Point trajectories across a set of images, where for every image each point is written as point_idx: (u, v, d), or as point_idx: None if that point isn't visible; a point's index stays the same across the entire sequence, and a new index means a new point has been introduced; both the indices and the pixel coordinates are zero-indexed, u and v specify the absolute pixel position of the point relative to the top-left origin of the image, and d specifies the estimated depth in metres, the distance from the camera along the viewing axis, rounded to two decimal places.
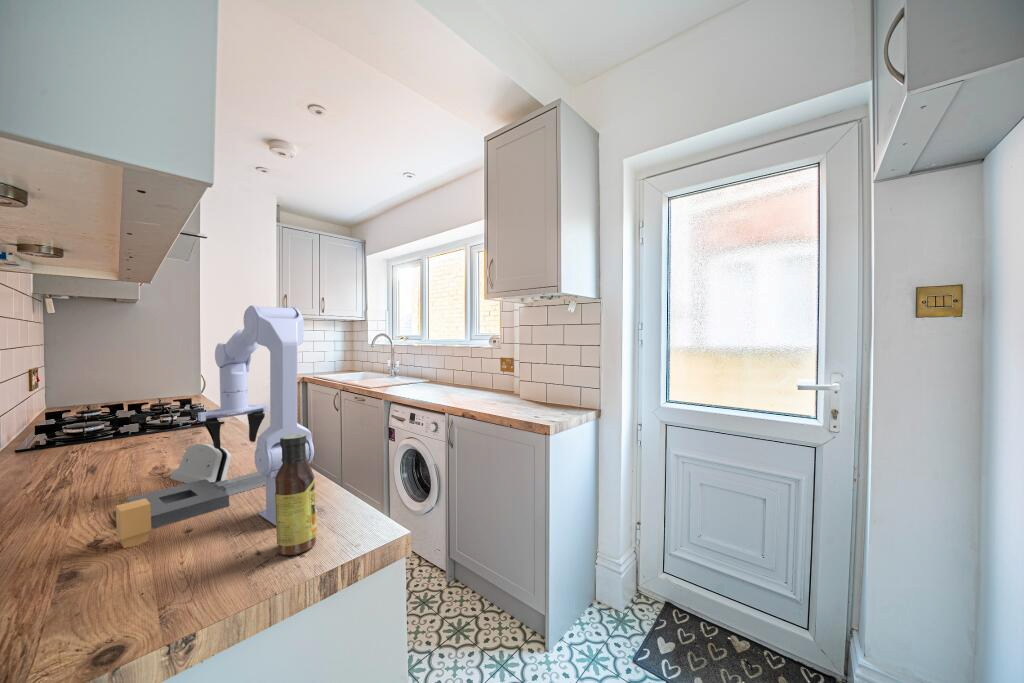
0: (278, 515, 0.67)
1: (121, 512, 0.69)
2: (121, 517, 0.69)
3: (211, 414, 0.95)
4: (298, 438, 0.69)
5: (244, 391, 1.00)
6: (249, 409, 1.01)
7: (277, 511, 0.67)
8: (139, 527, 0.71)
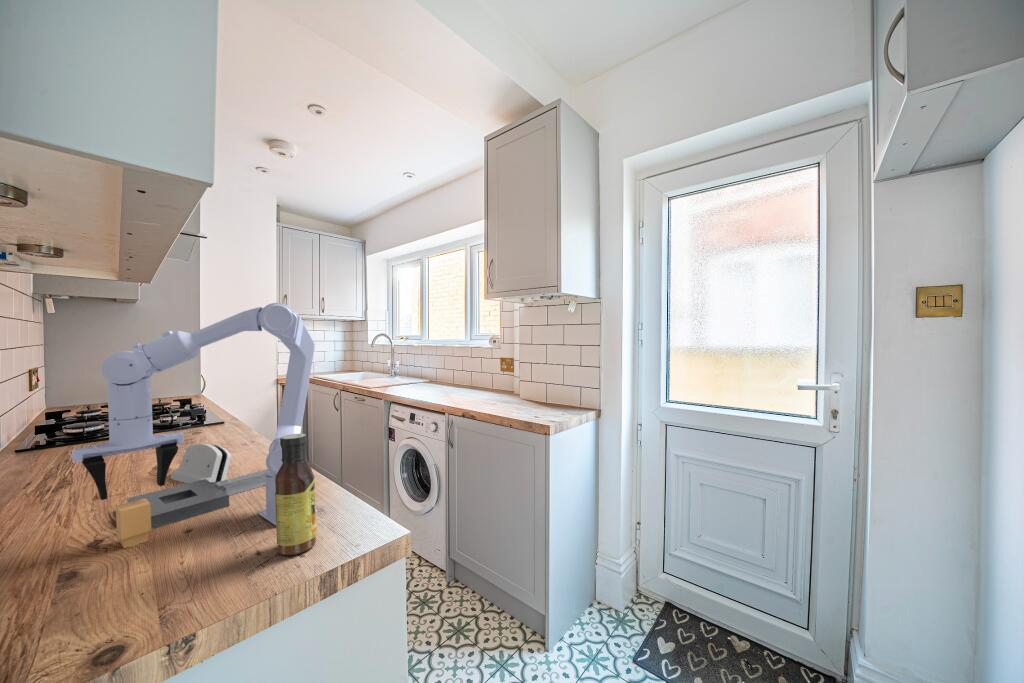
0: (278, 515, 0.67)
1: (121, 512, 0.69)
2: (121, 517, 0.69)
3: (90, 452, 0.67)
4: (298, 438, 0.69)
5: (145, 417, 0.72)
6: (153, 442, 0.73)
7: (277, 511, 0.67)
8: (139, 527, 0.71)
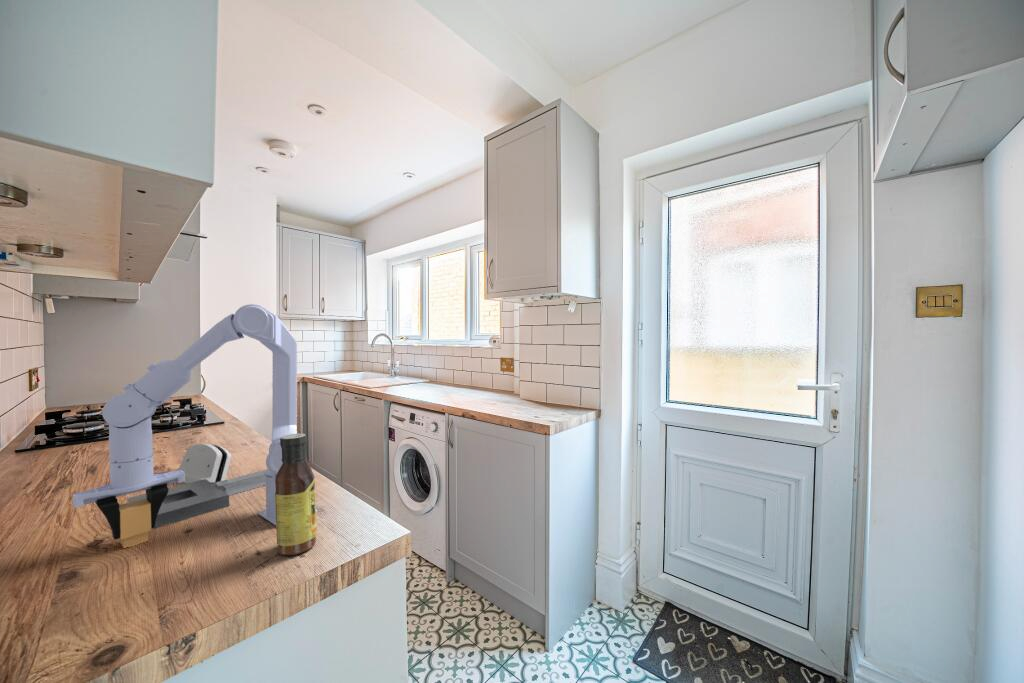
0: (278, 515, 0.67)
1: (121, 512, 0.69)
2: (121, 517, 0.69)
3: (91, 496, 0.67)
4: (298, 438, 0.69)
5: (146, 459, 0.72)
6: (154, 483, 0.73)
7: (277, 511, 0.67)
8: (139, 527, 0.71)
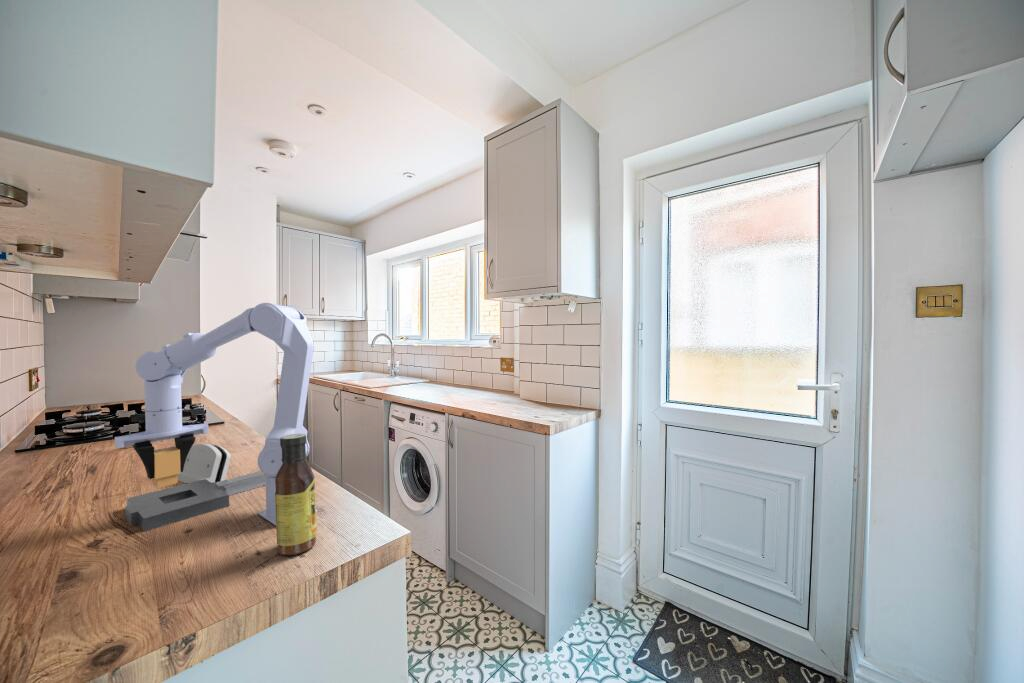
0: (278, 515, 0.67)
1: (155, 455, 0.79)
2: (155, 459, 0.79)
3: (131, 439, 0.77)
4: (298, 438, 0.69)
5: (176, 409, 0.82)
6: (183, 431, 0.83)
7: (277, 511, 0.67)
8: (170, 469, 0.81)
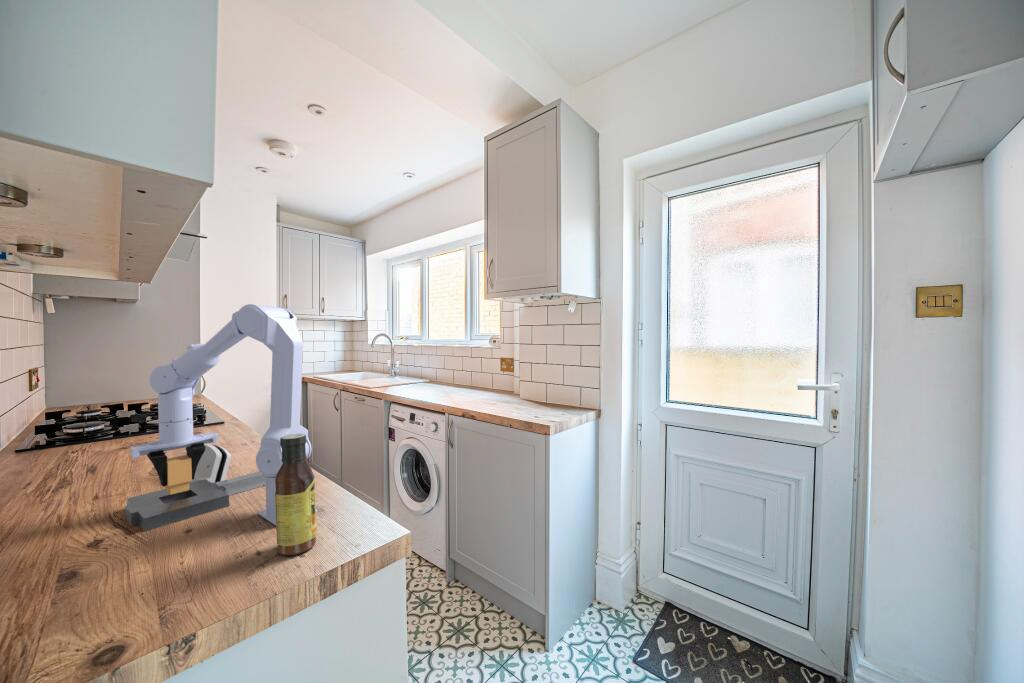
0: (278, 515, 0.67)
1: (168, 463, 0.84)
2: (168, 468, 0.84)
3: (145, 449, 0.81)
4: (298, 438, 0.69)
5: (188, 420, 0.86)
6: (194, 441, 0.87)
7: (277, 511, 0.67)
8: (182, 477, 0.86)
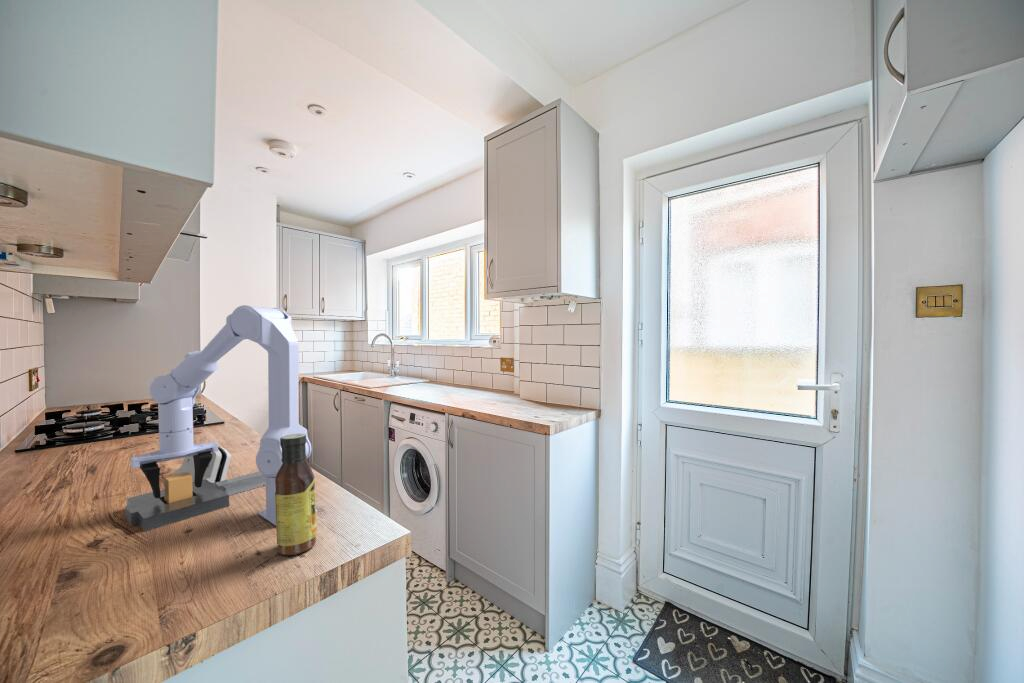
0: (278, 515, 0.67)
1: (169, 481, 0.84)
2: (169, 485, 0.84)
3: (146, 459, 0.82)
4: (298, 438, 0.69)
5: (188, 430, 0.86)
6: (194, 450, 0.87)
7: (277, 511, 0.67)
8: (183, 494, 0.86)
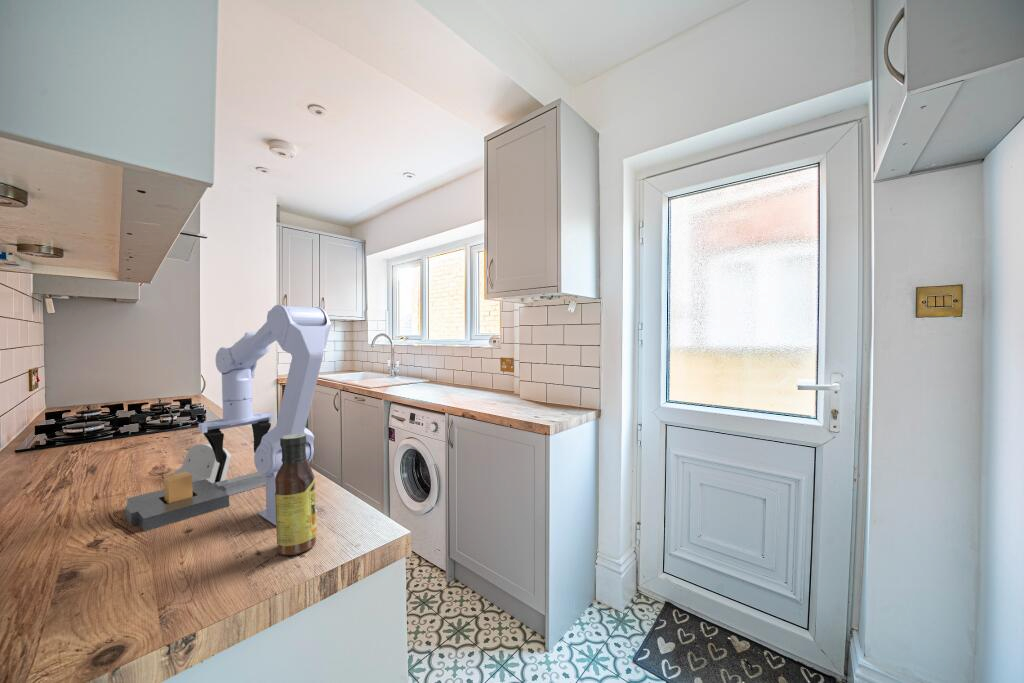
0: (278, 515, 0.67)
1: (169, 481, 0.84)
2: (169, 485, 0.84)
3: (213, 425, 0.87)
4: (298, 438, 0.69)
5: (249, 399, 0.92)
6: (254, 419, 0.93)
7: (277, 511, 0.67)
8: (183, 494, 0.86)
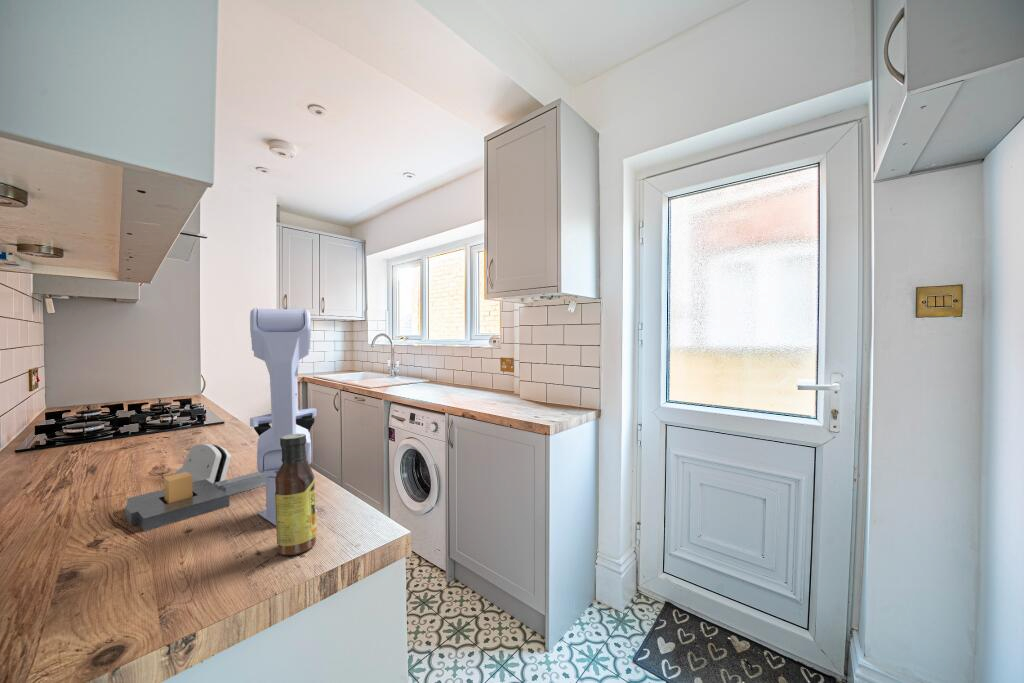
0: (278, 515, 0.67)
1: (169, 481, 0.84)
2: (169, 485, 0.84)
3: (263, 419, 0.92)
4: (298, 438, 0.69)
5: (295, 395, 0.96)
6: (300, 414, 0.97)
7: (277, 511, 0.67)
8: (183, 494, 0.86)
